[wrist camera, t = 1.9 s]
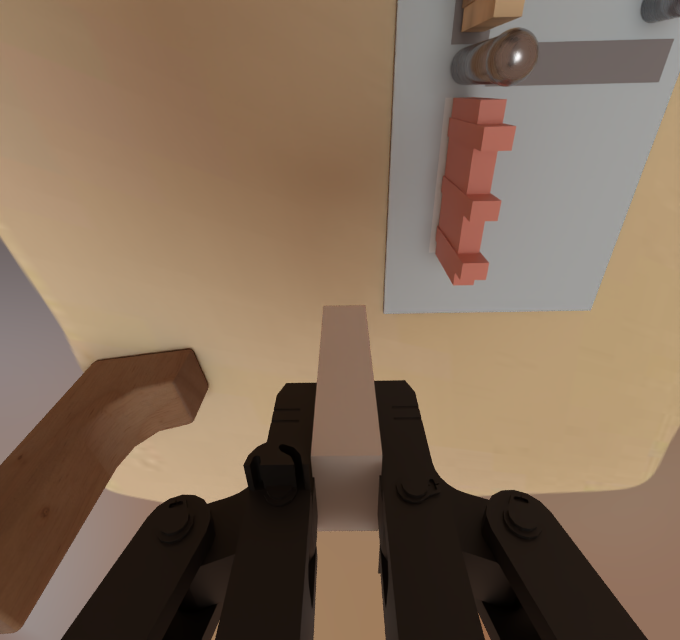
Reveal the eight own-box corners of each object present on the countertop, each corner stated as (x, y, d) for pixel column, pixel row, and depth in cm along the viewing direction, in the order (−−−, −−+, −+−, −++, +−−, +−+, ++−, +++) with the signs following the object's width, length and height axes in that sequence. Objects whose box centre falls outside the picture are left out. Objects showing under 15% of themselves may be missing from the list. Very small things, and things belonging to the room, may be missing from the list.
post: (450, 44, 21) (500, 24, 14) (487, 43, 21) (554, 23, 14) (446, 87, 22) (490, 87, 15) (481, 86, 22) (540, 86, 15)
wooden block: (193, 346, 32) (54, 587, 16) (210, 387, 34) (103, 631, 19) (93, 359, 33) (-128, 601, 17) (117, 398, 35) (-60, 641, 20)
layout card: (409, -288, 15) (411, -298, 15) (812, -304, 15) (824, -314, 15) (383, 311, 30) (383, 314, 30) (587, 307, 30) (590, 310, 29)
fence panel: (451, 97, 22) (488, 100, 16) (476, 97, 22) (521, 100, 16) (433, 253, 27) (457, 296, 21) (453, 253, 27) (482, 296, 21)
